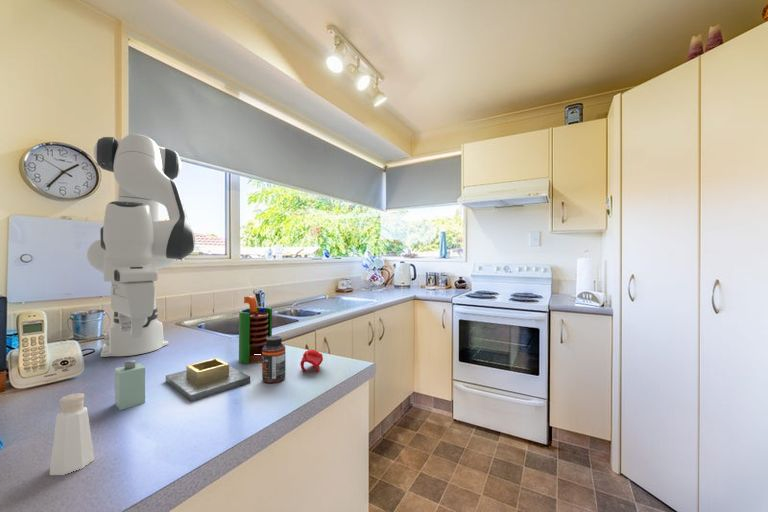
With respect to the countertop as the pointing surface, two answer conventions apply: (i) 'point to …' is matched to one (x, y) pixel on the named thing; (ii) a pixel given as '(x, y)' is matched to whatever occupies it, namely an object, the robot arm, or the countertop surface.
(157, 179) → the robot arm
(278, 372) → the supplement bottle
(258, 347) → the motor
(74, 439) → the salt shaker
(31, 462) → the countertop surface
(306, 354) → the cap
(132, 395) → the pale green flat box
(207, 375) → the mounting plate
